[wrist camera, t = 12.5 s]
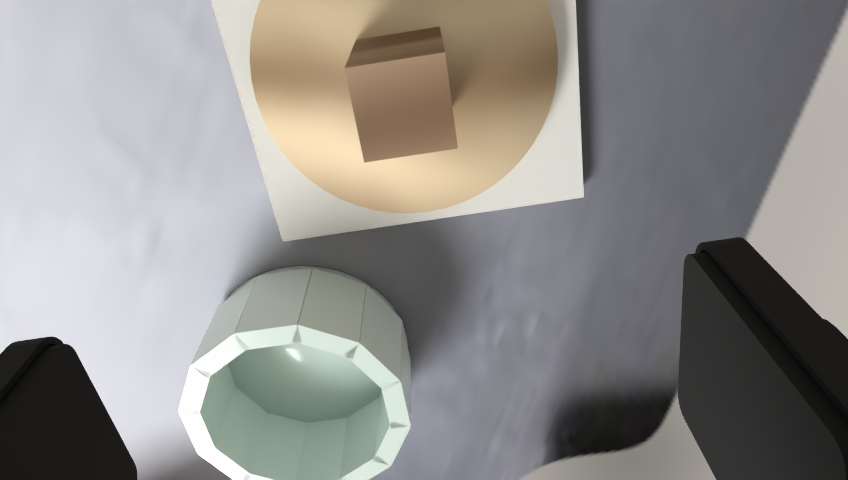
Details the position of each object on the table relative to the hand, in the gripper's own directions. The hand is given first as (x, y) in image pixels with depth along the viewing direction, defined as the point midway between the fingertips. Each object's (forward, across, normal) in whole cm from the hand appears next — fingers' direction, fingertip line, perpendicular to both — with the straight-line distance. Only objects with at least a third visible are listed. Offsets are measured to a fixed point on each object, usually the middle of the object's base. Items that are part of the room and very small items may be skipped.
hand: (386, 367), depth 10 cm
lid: (+20, 0, 0) cm, 20 cm away
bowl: (+21, +8, +15) cm, 27 cm away
